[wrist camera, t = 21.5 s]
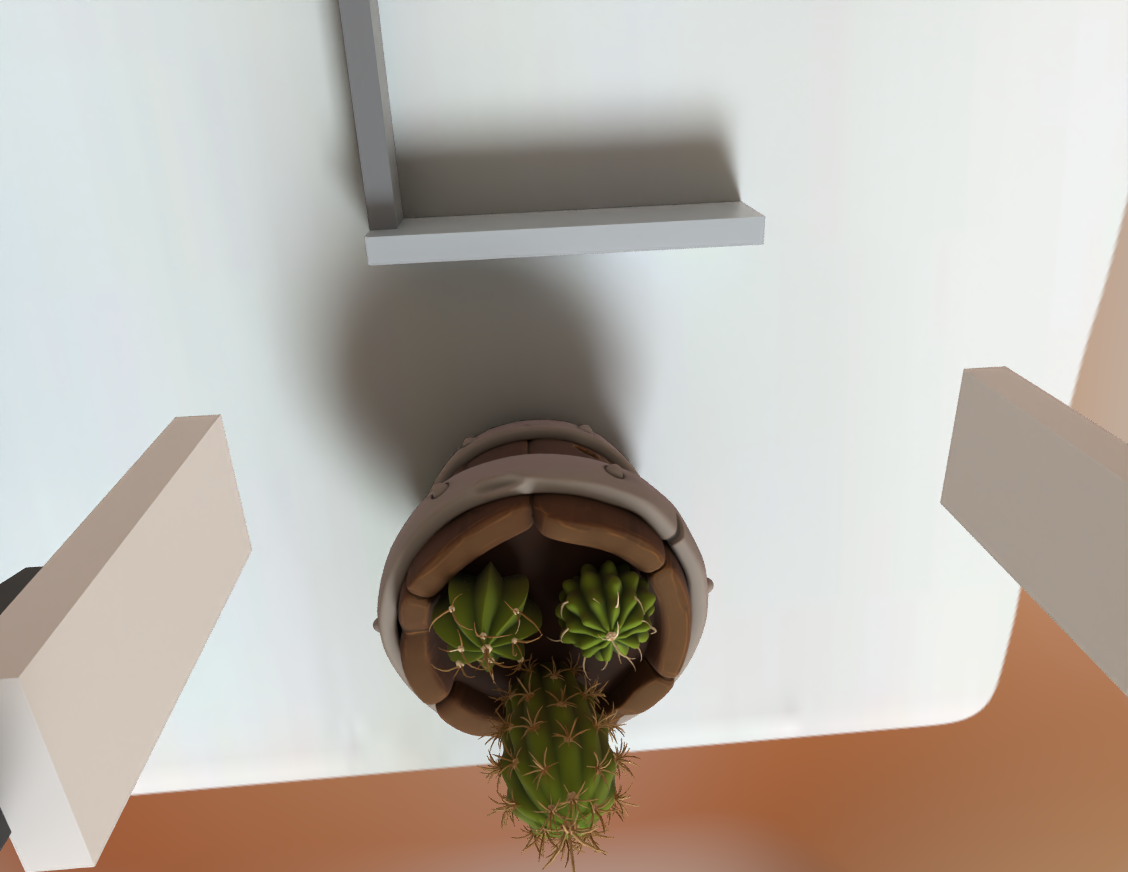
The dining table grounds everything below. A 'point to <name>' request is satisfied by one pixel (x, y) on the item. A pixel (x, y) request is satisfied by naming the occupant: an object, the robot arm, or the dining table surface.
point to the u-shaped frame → (507, 230)
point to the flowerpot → (544, 613)
